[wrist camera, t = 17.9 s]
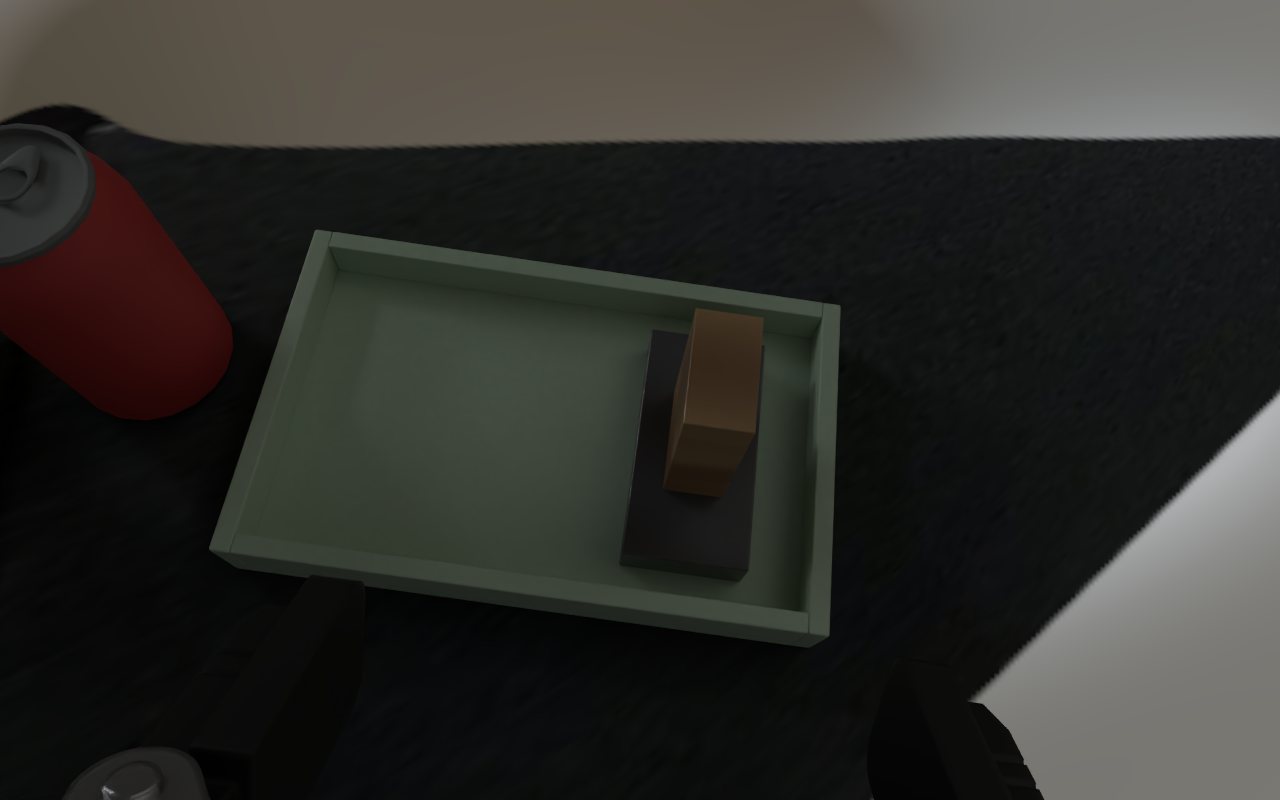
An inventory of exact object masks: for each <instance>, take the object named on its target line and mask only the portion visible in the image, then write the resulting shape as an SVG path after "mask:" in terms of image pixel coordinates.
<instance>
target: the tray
mask: <svg viewBox="0 0 1280 800" xmlns="http://www.w3.org/2000/svg"><path fill="white" fill-rule="evenodd" d="M696 308H699V309H706V310H713V311H720V312H727V313H734V314H741V315H748V316H755V317H762V318H764V324H763V337H762V345H764V346H765V355H764V369H763V383H762V397H761V410H760V424H759V438H758V452H757V466H756V480H755V494H754V507H753V521H752V535H751V549H750V563H749V571H748V572H747V573H746V575H745V576H744V577H743V578H742V580H741V581H740V582H736V581H729V580H722V579H715V578H707V577H700V576H693V575H686V574H679V573H671V572H664V571H657V570H650V569H643V568H636V567H628V566H621V565H619V561H620V553H621V546H622V538H623V531H624V523H625V516H626V509H627V501H628V494H629V486H630V479H631V471H632V464H633V456H634V449H635V442H636V434H637V427H638V419H639V412H640V404H641V397H642V390H643V382H644V375H645V367H646V360H647V352H648V346H649V340H650V335H651V330H652V329H654V330H661V331H668V332H675V333H682V334H689V333H690V329H691V325H692V321H693V318H694V314H695V310H696ZM839 334H840V306H839V305H833V304H826V303H824V304H823V303H820V302H813V301H806V300H799V299H792V298H785V297H778V296H771V295H764V294H758V293H751V292H744V291H737V290H730V289H723V288H716V287H709V286H702V285H696V284H689V283H682V282H675V281H668V280H661V279H654V278H647V277H640V276H634V275H627V274H620V273H613V272H606V271H599V270H592V269H585V268H579V267H572V266H565V265H558V264H551V263H544V262H537V261H530V260H523V259H517V258H510V257H503V256H496V255H489V254H482V253H475V252H468V251H461V250H455V249H448V248H441V247H434V246H427V245H420V244H413V243H406V242H399V241H393V240H386V239H379V238H372V237H365V236H358V235H351V234H344V233H338V232H333V233H332V232H329V231H322V230H316V231H315V233H314V236H313V239H312V242H311V245H310V248H309V251H308V254H307V257H306V260H305V263H304V266H303V269H302V272H301V275H300V278H299V281H298V284H297V287H296V290H295V293H294V296H293V299H292V302H291V305H290V308H289V311H288V314H287V317H286V320H285V323H284V326H283V329H282V332H281V335H280V338H279V341H278V344H277V347H276V350H275V353H274V356H273V358H272V361H271V364H270V367H269V370H268V373H267V376H266V379H265V382H264V385H263V388H262V391H261V394H260V397H259V400H258V403H257V406H256V409H255V412H254V415H253V418H252V421H251V424H250V427H249V430H248V433H247V436H246V439H245V442H244V445H243V448H242V451H241V454H240V457H239V460H238V463H237V466H236V469H235V472H234V475H233V478H232V481H231V484H230V487H229V490H228V493H227V496H226V499H225V502H224V505H223V508H222V511H221V514H220V517H219V520H218V523H217V526H216V529H215V532H214V535H213V538H212V541H211V544H210V547H209V550H210V551H212V552H213V553H215V554H216V555H218V556H219V557H221V558H222V559H224V560H226V561H227V562H228V563H230V564H231V565H233V566H234V567H236V568H240V569H247V570H254V571H262V572H269V573H276V574H283V575H290V576H297V577H305V578H308V577H309V576H310V575H313V574H315V575H322V576H329V577H336V578H343V579H351V580H358V581H362V582H363V583H364V585H365V586H369V587H376V588H384V589H391V590H398V591H405V592H412V593H419V594H427V595H434V596H441V597H448V598H455V599H462V600H470V601H477V602H484V603H491V604H498V605H505V606H513V607H520V608H527V609H534V610H541V611H548V612H556V613H563V614H570V615H577V616H584V617H592V618H599V619H606V620H613V621H620V622H627V623H635V624H642V625H649V626H656V627H663V628H670V629H678V630H685V631H692V632H699V633H706V634H713V635H721V636H728V637H735V638H742V639H749V640H756V641H764V642H771V643H778V644H785V645H792V646H799V647H807V648H809V647H811V646H813V645H815V644H817V643H818V642H820V641H822V640H823V639H825V638H827V637H829V627H830V598H831V568H832V539H833V510H834V480H835V451H836V422H837V392H838V363H839Z"/></svg>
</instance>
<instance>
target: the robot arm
mask: <svg viewBox="0 0 1280 800" xmlns="http://www.w3.org/2000/svg"><path fill="white" fill-rule="evenodd" d="M364 623H365V585H364V583H363V582H362V581H358V580H351V579H343V578H336V577H329V576H322V575H315V574H313V575H310V576H309V577H308V578H307V580H306V581H305V582H304V584H303V585H302V587H301V588H300V590H299V591H298V592H297V594H296V595H295V597H294V598H293V599H292V601H291V602H290V604H289V605H288V606H285V605H278V604H271V603H267V604H266V605H264V606H262V607H261V608H259V609H258V610H256V611H254V612H253V613H251V614H250V615H248V616H246V617H245V618H243V619H242V620H240V621H239V622H237V623H236V624H235V626H234V627H233V628H232V630H231V631H230V632H229V633H228V635H227V636H226V637H225V639H224V640H223V641H222V642H221V644H220V645H219V646H218V650H217V652H214V653H213V654H212V655H211V657H210V658H209V659H208V660H207V662H206V663H205V664H204V666H203V667H202V671H201V673H199V672H198V673H197V675H196V676H195V677H194V678H193V680H192V681H191V682H190V684H189V685H188V686H187V687H186V689H185V690H184V691H183V693H182V694H181V695H180V696H179V698H178V699H177V700H176V702H175V703H174V704H173V705H172V707H171V708H170V709H169V711H168V712H167V713H166V714H165V716H164V717H163V718H162V720H161V721H160V722H159V723H158V725H157V726H156V727H155V729H154V730H153V731H152V732H151V734H150V735H149V736H148V738H147V739H146V740H145V741H144V743H143V744H142V745H141V747H140V748H135V749H130V750H126V751H123V752H120V753H117V754H114V755H112V756H110V757H107V758H105V759H103V760H101V761H99V762H98V763H96V764H94V765H93V766H91V767H90V768H88V769H87V770H86V771H84V772H83V773H82V774H81V775H80V776H79V777H78V778H77V779H76V780H75V781H74V782H73V783H72V784H71V785H70V787H69V788H68V789H67V791H64V792H60V793H54V794H48V795H40V796H32V797H24V798H15V799H7V800H308V798H309V796H310V794H311V792H312V790H313V788H314V786H315V784H316V782H317V780H318V778H319V776H320V774H321V772H322V770H323V768H324V766H325V764H326V762H327V760H328V758H329V756H330V753H331V751H332V749H333V747H334V745H335V743H336V741H337V739H338V737H339V735H340V733H341V731H342V729H343V727H344V725H345V723H346V721H347V719H348V717H349V715H350V713H351V711H352V709H353V706H354V704H355V701H356V698H357V695H358V691H359V687H360V683H361V678H362V671H363V653H364ZM1023 761H1024V759H1023V757H1022V755H1021V753H1020V751H1019V749H1018V747H1017V745H1016V743H1015V741H1014V739H1013V737H1012V735H1011V733H1010V732H1009V730H1008V729H1007V728H1006V727H1005V726H1004V725H1003V724H1002V723H1001V722H1000V721H999V720H998V719H997V718H996V717H995V716H994V715H993V714H992V713H991V712H990V711H989V710H988V709H987V708H986V707H985V706H984V705H983V704H981V703H973V702H968V701H967V699H966V697H965V695H964V693H963V691H962V689H961V686H960V684H959V682H958V680H957V678H956V676H955V674H954V671H953V670H952V668H951V667H950V666H949V665H948V664H942V663H935V662H928V661H921V660H914V659H906V658H896V659H895V660H894V662H893V663H892V666H891V668H890V671H889V674H888V678H887V681H886V684H885V688H884V691H883V694H882V698H881V701H880V704H879V708H878V711H877V714H876V718H875V721H874V724H873V728H872V731H871V734H870V738H869V743H868V752H867V770H868V778H869V783H870V786H871V790H872V794H873V797H874V800H1044V798H1043V796H1042V794H1041V792H1040V790H1038V789H1036V782H1035V780H1034V778H1033V777H1032V775H1031V773H1030V771H1029V769H1028V767H1027V765H1024V763H1023Z"/></svg>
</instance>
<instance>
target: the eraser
mask: <svg viewBox="0 0 1280 800" xmlns="http://www.w3.org/2000/svg"><path fill="white" fill-rule="evenodd" d="M763 324H764V318H762V317H755V316H748V315H741V314H734V313H727V312H720V311H713V310H706V309H699V308H696V310H695V314H694V318H693V321H692V325H691V329H690V333H689V334H682V333H675V332H668V331H661V330H654V329H652V330H651V335H650V340H649V346H648V352H647V360H646V367H645V375H644V382H643V390H642V397H641V404H640V412H639V419H638V427H637V434H636V442H635V449H634V456H633V464H632V471H631V479H630V486H629V494H628V501H627V509H626V516H625V523H624V531H623V538H622V546H621V553H620V561H619V565H621V566H628V567H636V568H643V569H650V570H657V571H664V572H671V573H679V574H686V575H693V576H700V577H707V578H715V579H722V580H729V581H736V582H740V581H741V580H742V578H743V577H744V576H745V575H746V573H747V572H748V571H749V563H750V549H751V535H752V521H753V507H754V494H755V480H756V466H757V452H758V438H759V424H760V410H761V397H762V383H763V369H764V355H765V346H764V345H762V337H763Z"/></svg>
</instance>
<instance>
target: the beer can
mask: <svg viewBox="0 0 1280 800" xmlns="http://www.w3.org/2000/svg"><path fill="white" fill-rule="evenodd" d="M0 331H1V332H2V333H4V334H5V335H6V336H7V337H9V338H10V339H11V340H12V341H14V342H15V343H16V344H17V345H19V346H20V347H21V348H23V349H24V350H25V351H26V352H28V353H29V354H30V355H31V356H33V357H34V358H35V359H36V360H38V361H39V362H40V363H41V364H43V365H44V366H45V367H46V368H48V369H49V370H50V371H52V372H53V373H54V374H55V375H57V376H58V377H59V378H60V379H62V380H63V381H64V382H65V383H67V384H68V385H69V386H70V387H72V388H73V389H74V390H75V391H77V392H78V393H79V394H81V395H82V396H83V397H84V398H86V399H87V400H88V401H89V402H91V403H92V404H93V405H94V406H96V407H97V408H98V409H99V410H102V411H104V412H107V413H109V414H112V415H114V416H116V417H119V418H124V419H136V420H151V419H157V418H162V417H167V416H172V415H174V414H177V413H179V412H181V411H183V410H185V409H187V408H189V407H191V406H193V405H195V404H197V403H198V402H199V401H200V400H201V399H203V398H204V397H205V396H206V395H207V394H208V393H210V392H211V391H212V390H213V389H214V388H215V387H216V385H217V384H218V382H219V381H220V379H221V378H222V376H223V375H224V373H225V372H226V370H227V368H228V365H229V361H230V357H231V354H232V350H233V338H232V327H231V325H230V323H229V321H228V319H227V317H226V315H225V313H224V311H223V309H222V308H221V307H220V305H219V304H218V303H217V301H216V300H215V298H214V297H213V296H212V294H211V293H210V292H209V290H208V289H207V288H206V286H205V285H204V284H203V282H202V281H201V279H200V278H199V277H198V275H197V274H196V273H195V271H194V270H193V269H192V267H191V266H190V265H189V263H188V262H187V260H186V259H185V258H184V256H183V255H182V254H181V252H180V251H179V250H178V248H177V247H176V246H175V244H174V243H173V241H172V240H171V239H170V237H169V236H168V235H167V233H166V232H165V231H164V229H163V228H162V226H161V225H160V224H159V222H158V221H157V220H156V218H155V217H154V216H153V214H152V213H151V212H150V210H149V209H148V207H147V206H146V205H145V203H144V202H143V201H142V199H141V198H140V197H139V195H138V194H137V193H136V191H135V190H134V188H133V187H132V186H131V184H130V183H129V182H128V181H127V180H126V179H124V178H123V177H122V176H121V175H120V174H119V173H117V172H116V171H115V170H114V169H113V168H111V167H110V166H109V165H108V164H106V163H105V162H104V161H103V160H101V159H100V158H99V157H98V156H96V155H94V154H92V153H90V152H88V151H86V150H85V149H84V148H83V147H82V146H80V145H79V144H78V143H77V142H76V141H74V140H73V139H72V138H71V137H70V136H69V135H67V134H65V133H62V132H59V131H57V130H54V129H52V128H49V127H46V126H40V125H30V124H19V123H18V124H10V125H3V126H0Z"/></svg>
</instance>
